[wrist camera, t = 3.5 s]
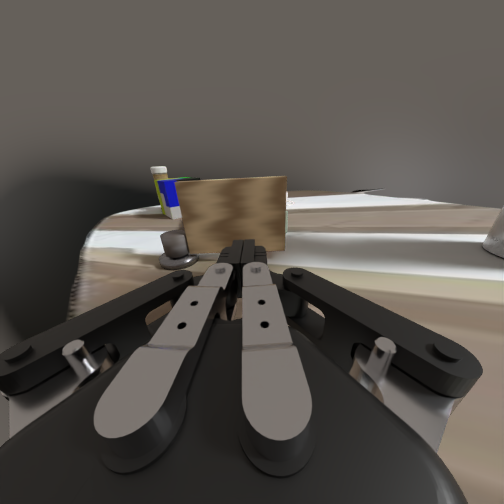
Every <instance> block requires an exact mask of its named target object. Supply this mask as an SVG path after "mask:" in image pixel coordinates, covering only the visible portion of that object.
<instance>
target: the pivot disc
mask: <svg viewBox="0 0 504 504" xmlns="http://www.w3.org/2000/svg"><path fill="white" fill-rule="evenodd" d="M198 259H199V256H198V254H190V253H188V254H187V255H185V256H182V257H178V258H168V257H166V255H165V253H163V254H162V255H161V256H160V257H159V261H160V264H161V267H162V268H164V269H167V270H178V269H183V268H186V267H189V266H191V265H193V264H194V263H196V262H197V261H198Z"/></svg>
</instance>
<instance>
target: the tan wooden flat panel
mask: <svg viewBox="0 0 504 504" xmlns="http://www.w3.org/2000/svg"><path fill="white" fill-rule="evenodd" d="M174 183H175V187H176V192H177V197H178V201H179V206H180V210H181V215H182V220H183V224H184V229H185V230H173V231H168V232H165V233H163V234H161V235H160V237H161V241H162V244H163V248H164V251H165V255H166V257H168V258H178V257H182V256H185V255H187V254H188V253H190V254H199V253H221V251H222V249H224V248H225V247H231V246H232V243H233V240H245V239H255V246H263V247H264V248H266V251H285V222H286V187H287V177H286V176H276V177H255V178H236V179H216V180H197V181H178V182H174Z"/></svg>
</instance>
